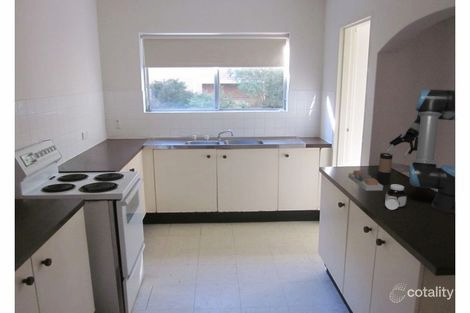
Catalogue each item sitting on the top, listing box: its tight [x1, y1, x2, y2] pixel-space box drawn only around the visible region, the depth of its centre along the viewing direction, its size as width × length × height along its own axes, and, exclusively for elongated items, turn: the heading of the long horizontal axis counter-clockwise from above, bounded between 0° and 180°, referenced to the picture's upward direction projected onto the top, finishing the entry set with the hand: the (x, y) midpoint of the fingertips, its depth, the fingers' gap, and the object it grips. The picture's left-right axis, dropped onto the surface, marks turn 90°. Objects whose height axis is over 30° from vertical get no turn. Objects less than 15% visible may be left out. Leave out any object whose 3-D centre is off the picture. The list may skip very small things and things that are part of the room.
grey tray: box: [347, 172, 384, 192], centre depth 228 cm, size 28×11×3 cm, turn 4°
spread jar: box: [384, 183, 408, 211], centre depth 187 cm, size 12×11×12 cm
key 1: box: [352, 170, 367, 177], centre depth 236 cm, size 6×6×3 cm
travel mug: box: [377, 152, 394, 186], centre depth 227 cm, size 8×8×20 cm
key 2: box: [364, 177, 378, 185], centre depth 219 cm, size 6×6×3 cm
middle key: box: [359, 173, 372, 181], centre depth 228 cm, size 6×6×3 cm
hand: (396, 155), depth 229 cm, fingers open, 13 cm apart
